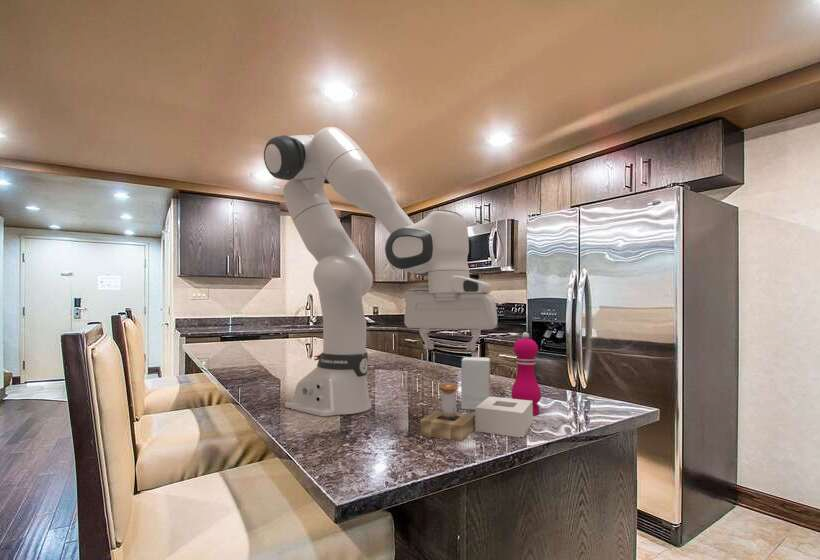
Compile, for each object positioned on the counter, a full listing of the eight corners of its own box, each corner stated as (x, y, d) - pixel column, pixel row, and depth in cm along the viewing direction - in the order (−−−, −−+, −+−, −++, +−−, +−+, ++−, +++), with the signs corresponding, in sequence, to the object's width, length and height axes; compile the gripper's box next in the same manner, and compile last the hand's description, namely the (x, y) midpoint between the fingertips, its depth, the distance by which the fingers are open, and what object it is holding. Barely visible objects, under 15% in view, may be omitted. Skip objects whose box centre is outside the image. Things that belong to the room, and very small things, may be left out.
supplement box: (489, 411, 107) (489, 360, 108) (460, 409, 109) (460, 359, 110) (490, 404, 115) (490, 357, 115) (462, 402, 116) (462, 356, 117)
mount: (420, 434, 87) (420, 420, 88) (436, 423, 96) (436, 410, 96) (461, 441, 84) (462, 425, 84) (475, 429, 92) (474, 415, 92)
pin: (436, 433, 89) (436, 384, 89) (443, 428, 92) (443, 381, 93) (453, 435, 87) (453, 386, 88) (459, 430, 90) (459, 383, 91)
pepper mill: (517, 407, 111) (517, 330, 112) (545, 411, 107) (544, 332, 108) (506, 413, 105) (506, 332, 106) (535, 417, 101) (534, 333, 102)
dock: (475, 431, 90) (475, 407, 90) (489, 417, 101) (489, 396, 101) (523, 437, 86) (522, 412, 86) (532, 422, 97) (532, 400, 97)
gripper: (399, 286, 93) (399, 349, 92) (491, 283, 84) (492, 353, 83) (411, 287, 98) (411, 347, 98) (498, 284, 90) (500, 350, 89)
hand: (449, 350), depth 90 cm, fingers open, 8 cm apart
